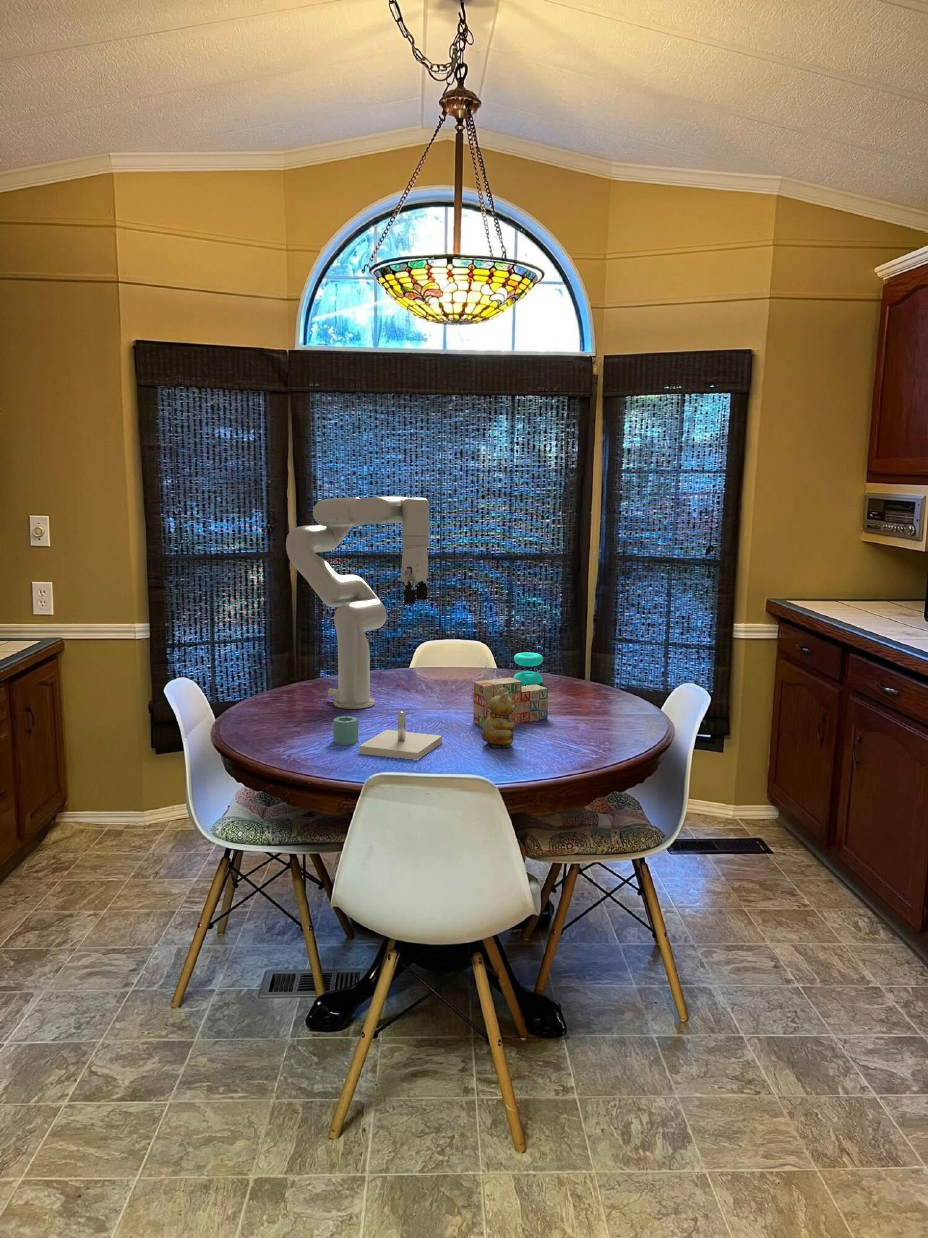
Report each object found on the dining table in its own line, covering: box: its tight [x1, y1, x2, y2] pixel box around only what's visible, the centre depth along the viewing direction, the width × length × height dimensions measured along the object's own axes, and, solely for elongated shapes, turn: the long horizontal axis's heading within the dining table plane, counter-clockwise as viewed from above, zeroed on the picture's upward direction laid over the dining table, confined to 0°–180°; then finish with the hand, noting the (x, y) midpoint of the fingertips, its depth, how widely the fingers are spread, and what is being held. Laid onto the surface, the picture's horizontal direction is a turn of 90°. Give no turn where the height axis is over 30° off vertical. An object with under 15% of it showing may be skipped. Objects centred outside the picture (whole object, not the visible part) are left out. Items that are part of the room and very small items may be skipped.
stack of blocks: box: [472, 677, 549, 728], centre depth 256 cm, size 21×6×12 cm, turn 118°
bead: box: [332, 715, 359, 746], centre depth 235 cm, size 6×6×6 cm
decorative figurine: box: [481, 688, 516, 748], centre depth 233 cm, size 10×8×15 cm
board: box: [358, 710, 443, 760], centre depth 229 cm, size 16×16×10 cm
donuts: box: [512, 651, 544, 686], centre depth 305 cm, size 10×10×10 cm
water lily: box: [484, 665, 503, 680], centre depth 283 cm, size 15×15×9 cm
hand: (415, 601), depth 256 cm, fingers open, 9 cm apart
